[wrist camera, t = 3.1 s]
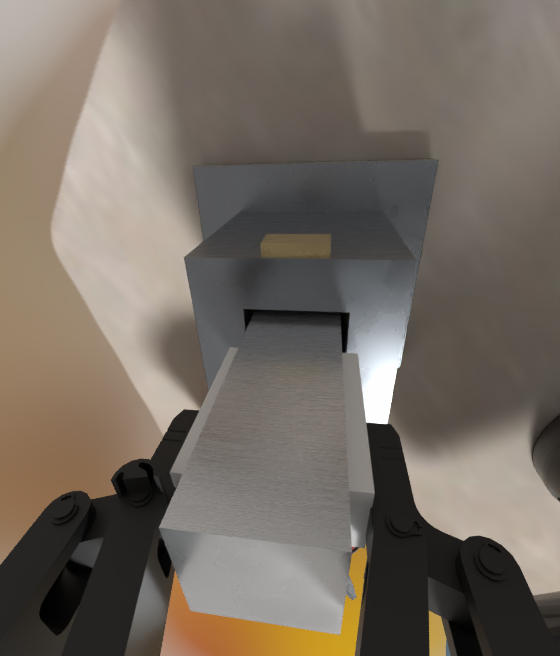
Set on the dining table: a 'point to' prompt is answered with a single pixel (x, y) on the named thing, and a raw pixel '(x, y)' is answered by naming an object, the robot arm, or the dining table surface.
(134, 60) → the dining table surface
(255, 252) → the stand
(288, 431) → the post
